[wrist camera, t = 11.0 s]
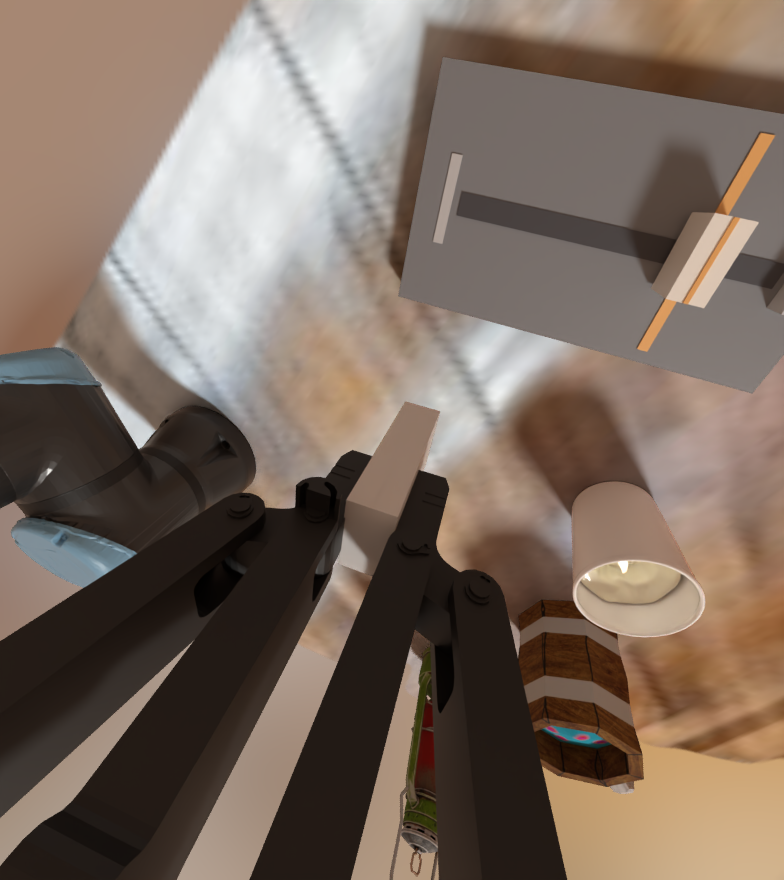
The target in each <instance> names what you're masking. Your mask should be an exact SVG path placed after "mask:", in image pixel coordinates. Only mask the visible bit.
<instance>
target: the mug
mask: <svg viewBox="0 0 784 880" xmlns="http://www.w3.org/2000/svg"><path fill="white" fill-rule="evenodd" d="M519 625H520V648H519V655H518V661H519V666H520V670H521V675H522V679H523V684H524V688H525V693H526V697H527V702H528V706H529V711H530V715H531V720H532V724H533V729H534V733H535V738H536V742H537V747H538V751H539V756H540V760H541V765H542V766H543V767H544V768H546V769H548V770H550V771H551V772H553V773H554V774H556V775H557V776H561V777H565V778H570V779H574V780H578V781H583V782H587V783H592V784H596V785H601V786H605V787H609V786H610V788H611V789H612V790H613V791H614V792H617V793H620V794H621V793H626V794H627V793H633V791H634V781H637V780H642V779H644V776H643V758H642V751H641V748H640V745H639V741H638V738H637V735H636V732H635V728H634V724H633V719H632V714H631V708H630V702H629V692H628V682H627V677H626V673H625V670H624V667H623V663H622V660H621V657H620V652H619V646H618V637H617V633H615V632H611V631H609V630H606V629H604V628H601V627H599V626H597V625H596V624H594V623H592V622H591V621H590V620H588V619H587V618H586V617H585V616H584V615H583V614H582V613H581V612H580V611H579V610H578V608H577V607H576V605H575V602H574V601H556V600H541V601H539V602H538V603H536V604H535V605H533V606H532V607H530V608H529V609H527V610H526V611H525V612H523V613H522V614H520V615H519Z"/></svg>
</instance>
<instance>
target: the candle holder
mask: <svg viewBox="0 0 784 880" xmlns="http://www.w3.org/2000/svg"><path fill="white" fill-rule="evenodd" d="M571 522H572V564H573V588H572V595H573V600H574V602H575V605H576V607H577V608H578V610H579V611H580V612H581V613H582V614H583V615H584V616H585V617H586V618H587V619H588V620H590V621H591V622H592V623H594V624H596V625H597V626H599V627H601V628H604V629H606V630H609V631H611V632H615V633H618V634H622V635H628V636H635V637H657V636H664V635H669V634H673V633H676V632H679V631H681V630H684V629H686V628H687V627H689V626H691V625H692V624H693V623H695V622H696V621H697V620H698V619H699V617H700V616H701V615H702V613H703V611H704V608H705V595H704V592H703V589H702V587H701V586H700V584H699V583H698V581H697V580H696V578H695V576H694V574H693V573H692V571H691V569H690V567H689V565H688V563H687V561H686V559H685V557H684V555H683V553H682V552H681V550H680V548H679V546H678V544H677V542H676V540H675V538H674V536H673V534H672V532H671V531H670V529H669V527H668V525H667V523H666V521H665V519H664V517H663V515H662V514H661V512H660V510H659V508H658V506H657V504H656V503H655V501H654V500H653V498H652V497H651V496H650V495H649V494H648V493H647V492H646V491H645V490H643V489H642V488H640V487H638V486H636V485H633V484H630V483H625V482H617V481H611V482H603V483H598V484H595V485H593V486H590V487H588V488H587V489H585V490H584V491H582V492H581V493H580V494H579V495H578V496H577V497H576V499H575V501H574V503H573V506H572V514H571Z"/></svg>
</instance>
